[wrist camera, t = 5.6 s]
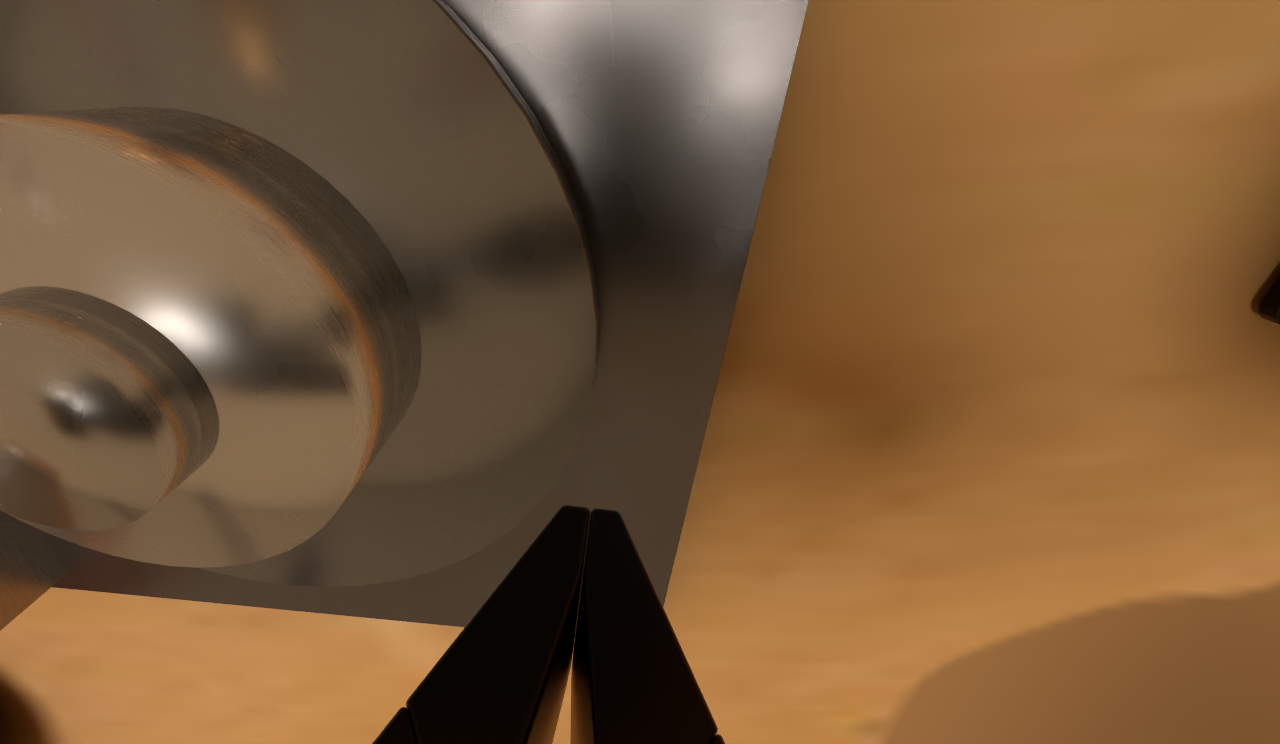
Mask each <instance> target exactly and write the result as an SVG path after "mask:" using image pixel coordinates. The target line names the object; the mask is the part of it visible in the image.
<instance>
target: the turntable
mask: <svg viewBox="0 0 1280 744" xmlns="http://www.w3.org/2000/svg"><path fill="white" fill-rule="evenodd" d="M139 106H149V107H161V108H172V109H179V110H184V111H188V112H193V113H197V114H202V115H206V116H210V117H213V118H216V119H218V120H221V121H224V122H227V123H230V124H233V125H236V126H239V127H241V128H243V129H245V130H247V131H249V132H251V133H254V134H256V135H258V136H260V137H262V138H264V139H266V140H268V141H270V142H272V143H274V144H275V145H277V146H279V147H280V148H282V149H283V150H285V151H287V152H288V153H290V154H292V155H293V156H295V157H297V158H298V159H300V160H301V161H302V162H304V163H305V164H306V165H308V166H309V167H310V168H312V169H313V170H314V171H316V172H317V173H318V174H320V175H321V176H322V177H323V178H325V179H326V180H327V181H328V182H329V183H330V184H332V185H333V186H334V187H335V188H336V189H337V190H338V191H339V192H340V193H341V194H342V195H343V196H344V197H346V198H347V199H348V200H349V201H350V202H351V203H352V204H353V206H354V207H355V208H356V209H357V210H358V211H359V212H360V213H361V215H362V216H363V217H364V218H365V219H366V220H367V221H368V223H369V224H370V225H371V226H372V227H373V229H374V230H375V232H376V233H377V234H378V236H379V237H380V239H381V240H382V242H383V243H384V244H385V246H386V247H387V249H388V250H389V252H390V253H391V255H392V257H393V259H394V261H395V262H396V264H397V266H398V268H399V270H400V271H401V273H402V275H403V278H404V280H405V282H406V285H407V287H408V290H409V292H410V295H411V297H412V299H413V303H414V307H415V310H416V314H417V318H418V321H419V328H420V336H421V343H422V360H421V371H420V377H419V383H418V387H417V390H416V392H415V395H414V398H413V401H412V404H411V405H410V407H409V409H408V411H407V412H406V414H405V416H404V418H403V419H402V421H401V422H400V424H399V425H398V426H397V428H396V429H395V431H394V432H393V433H392V435H391V436H390V438H389V439H388V440H387V442H386V443H385V445H384V446H383V447H382V449H381V450H380V452H379V453H378V454H377V456H376V457H375V459H374V460H373V461H372V463H371V464H370V466H369V467H368V468H367V470H366V471H365V473H364V474H363V475H362V477H361V478H360V480H359V481H358V482H357V484H356V485H355V487H354V488H353V489H352V491H351V492H350V494H349V495H348V496H347V498H346V499H345V501H344V502H343V503H342V505H341V506H340V508H339V509H338V510H337V512H336V513H335V514H334V515H333V516H332V518H331V519H330V520H329V521H328V522H327V524H326V525H325V526H324V527H323V528H321V529H320V530H319V531H318V532H317V533H315V534H314V535H313V536H312V537H311V538H309V539H308V540H306V541H305V542H303V543H301V544H299V545H298V546H296V547H294V548H293V549H291V550H289V551H286V552H284V553H281V554H278V555H276V556H273V557H271V558H268V559H264V560H260V561H256V562H252V563H248V564H241V565H233V566H226V567H202V568H201V569H204V570H208V571H211V572H216V573H220V574H225V575H230V576H234V577H239V578H244V579H248V580H255V581H262V582H269V583H277V584H284V585H297V586H317V587H337V586H362V585H369V584H377V583H384V582H391V581H398V580H402V579H406V578H410V577H414V576H418V575H422V574H426V573H430V572H432V571H435V570H438V569H440V568H443V567H446V566H448V565H451V564H454V563H456V562H459V561H461V560H463V559H465V558H467V557H469V556H471V555H473V554H475V553H476V552H478V551H480V550H482V549H484V548H486V547H488V546H490V545H491V544H492V543H494V542H495V541H497V540H498V539H499V538H501V537H502V536H504V535H505V534H506V533H508V532H509V531H511V530H512V529H513V528H515V527H516V526H517V525H518V524H519V523H520V522H521V521H522V520H523V519H524V518H525V517H526V516H527V515H528V514H529V513H530V512H531V511H533V510H534V509H535V508H536V507H537V506H538V505H539V504H540V502H541V501H542V500H543V498H544V497H545V496H546V494H547V493H548V492H549V490H550V489H551V488H552V486H553V485H554V484H555V482H556V481H557V480H558V478H559V477H560V475H561V473H562V471H563V470H564V468H565V466H566V464H567V462H568V460H569V458H570V456H571V455H572V453H573V451H574V449H575V447H576V444H577V441H578V438H579V436H580V433H581V430H582V427H583V424H584V421H585V418H586V415H587V412H588V407H589V402H590V396H591V390H592V384H593V379H594V373H595V367H596V362H597V356H598V342H599V303H598V294H597V286H596V277H595V268H594V263H593V259H592V255H591V251H590V247H589V243H588V239H587V235H586V231H585V227H584V223H583V219H582V216H581V213H580V211H579V208H578V205H577V203H576V200H575V198H574V195H573V193H572V190H571V187H570V185H569V182H568V180H567V177H566V175H565V172H564V170H563V167H562V165H561V163H560V161H559V159H558V157H557V156H556V154H555V152H554V150H553V148H552V146H551V144H550V142H549V141H548V139H547V137H546V135H545V133H544V131H543V129H542V128H541V126H540V124H539V122H538V120H537V118H536V116H535V114H534V113H533V111H532V110H531V109H530V107H529V106H528V104H527V103H526V101H525V100H524V98H523V97H522V96H521V94H520V93H519V91H518V90H517V88H516V87H515V85H514V84H513V83H512V81H511V80H510V78H509V77H508V75H507V74H506V73H505V71H504V70H503V68H502V67H501V65H500V64H499V62H498V61H497V60H496V59H495V58H494V56H493V55H492V54H491V53H490V52H489V51H488V50H487V48H486V47H485V46H484V45H483V44H482V43H481V42H480V40H479V39H478V38H477V37H476V36H475V35H474V34H473V32H472V31H471V30H470V29H469V28H468V27H467V26H466V24H465V23H464V22H463V21H462V20H461V19H460V18H459V16H458V15H457V14H456V13H455V12H454V11H453V10H452V9H451V8H450V7H449V6H448V5H447V4H446V3H445V2H444V1H443V0H0V114H15V113H33V112H50V111H68V110H86V109H104V108H121V107H139Z"/></svg>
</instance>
